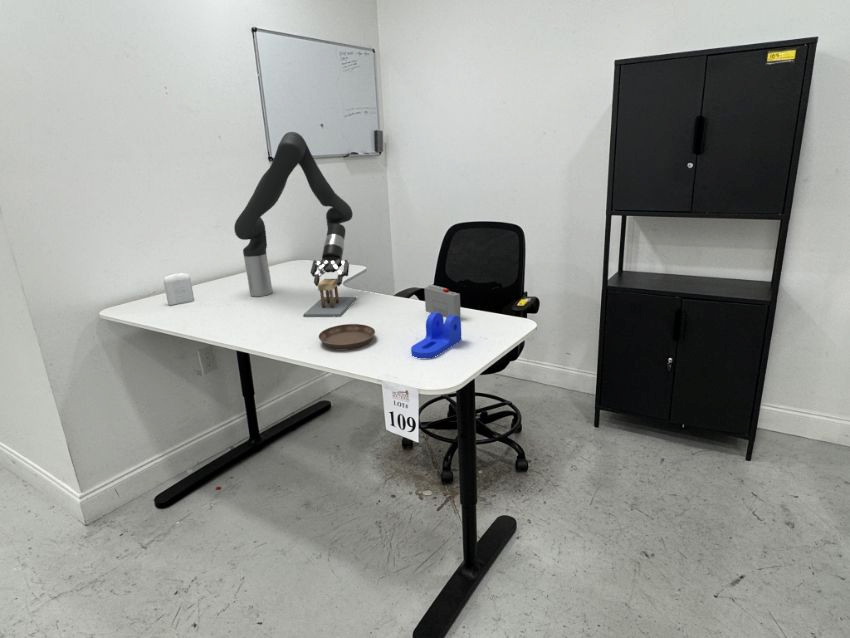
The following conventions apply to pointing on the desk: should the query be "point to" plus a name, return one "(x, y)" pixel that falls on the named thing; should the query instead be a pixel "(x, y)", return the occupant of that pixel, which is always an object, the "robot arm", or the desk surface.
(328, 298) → the oak stool
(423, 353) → the bracket
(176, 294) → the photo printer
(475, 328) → the desk surface
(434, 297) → the cassette player
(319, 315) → the grey mat
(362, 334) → the plant saucer
